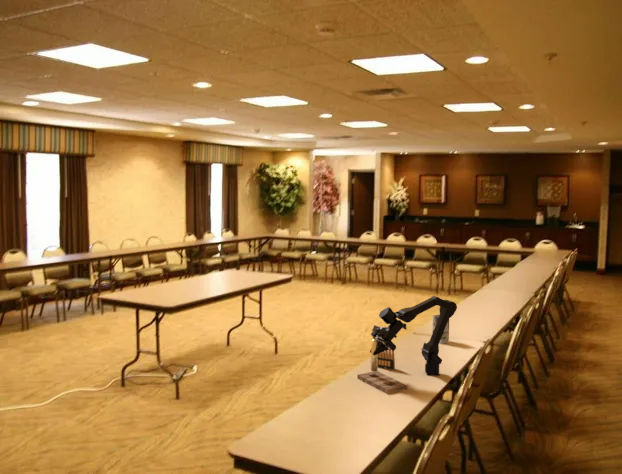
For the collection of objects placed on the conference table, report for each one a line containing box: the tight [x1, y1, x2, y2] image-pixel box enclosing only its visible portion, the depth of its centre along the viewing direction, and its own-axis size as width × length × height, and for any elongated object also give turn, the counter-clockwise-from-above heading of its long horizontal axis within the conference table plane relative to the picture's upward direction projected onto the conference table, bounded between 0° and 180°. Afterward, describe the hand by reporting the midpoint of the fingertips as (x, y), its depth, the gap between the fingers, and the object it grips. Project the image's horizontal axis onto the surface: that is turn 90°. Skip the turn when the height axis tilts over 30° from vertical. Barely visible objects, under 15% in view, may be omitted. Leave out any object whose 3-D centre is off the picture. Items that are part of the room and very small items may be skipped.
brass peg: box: [370, 338, 379, 372], centre depth 278 cm, size 3×3×16 cm
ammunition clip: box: [378, 347, 396, 370], centre depth 298 cm, size 11×2×12 cm, turn 62°
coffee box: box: [432, 314, 450, 345], centre depth 349 cm, size 9×6×16 cm
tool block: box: [356, 370, 408, 395], centre depth 273 cm, size 24×12×2 cm, turn 30°
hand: (371, 353), depth 277 cm, fingers closed on brass peg, 3 cm apart
